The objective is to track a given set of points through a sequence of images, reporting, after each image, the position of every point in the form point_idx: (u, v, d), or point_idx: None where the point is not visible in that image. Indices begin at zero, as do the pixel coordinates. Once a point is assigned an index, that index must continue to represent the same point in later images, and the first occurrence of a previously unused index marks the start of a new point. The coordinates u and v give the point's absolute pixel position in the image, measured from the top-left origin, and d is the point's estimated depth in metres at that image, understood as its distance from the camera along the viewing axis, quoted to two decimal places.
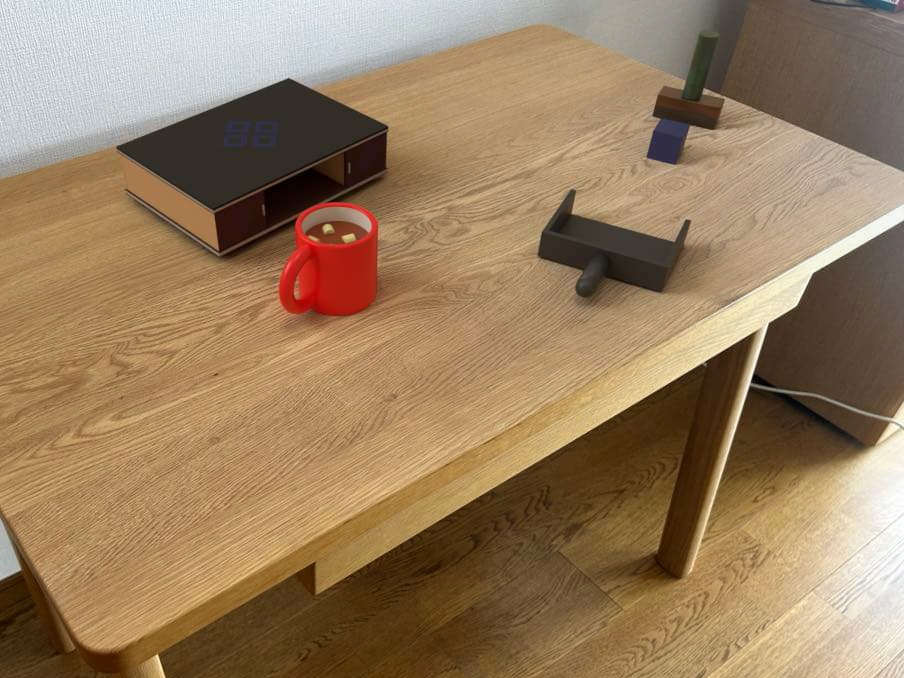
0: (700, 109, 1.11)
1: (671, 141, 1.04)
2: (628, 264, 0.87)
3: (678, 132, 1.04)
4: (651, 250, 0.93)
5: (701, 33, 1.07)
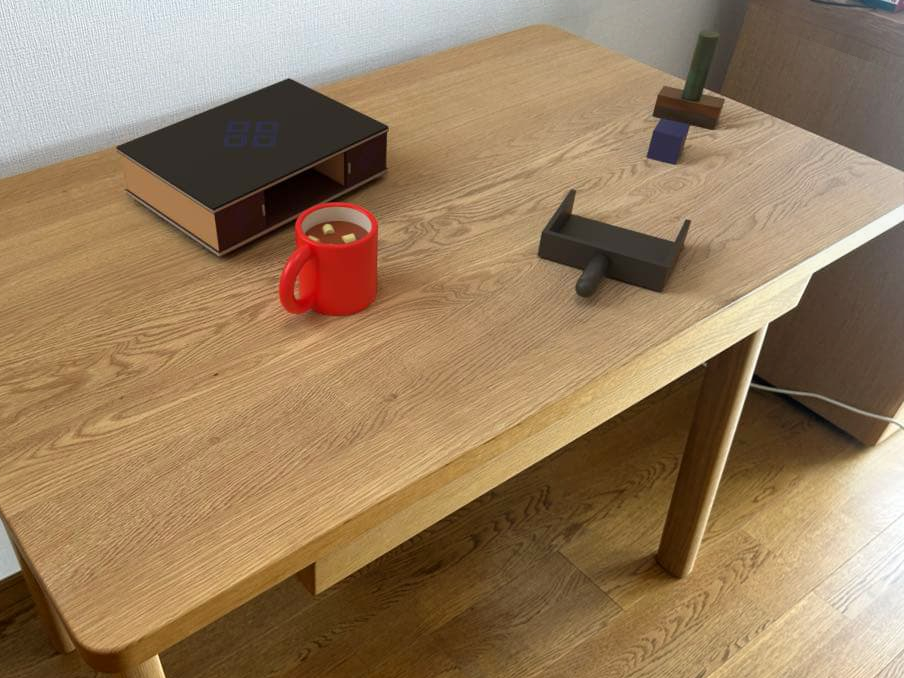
0: (700, 109, 1.11)
1: (671, 141, 1.04)
2: (628, 264, 0.87)
3: (678, 132, 1.04)
4: (651, 250, 0.93)
5: (701, 33, 1.07)
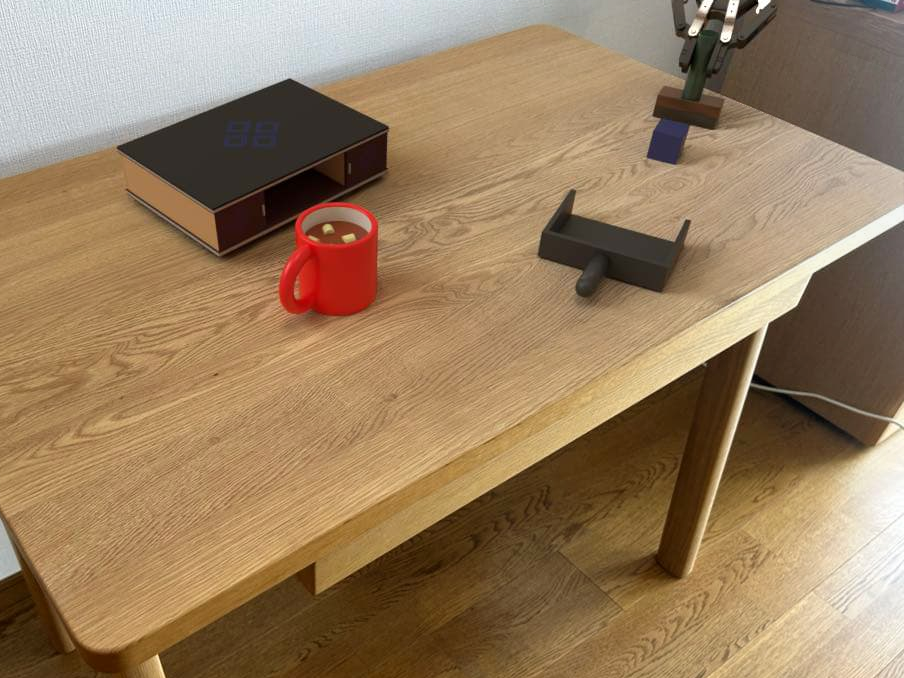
0: (700, 109, 1.11)
1: (671, 141, 1.04)
2: (628, 264, 0.87)
3: (678, 132, 1.04)
4: (651, 250, 0.93)
5: (701, 33, 1.07)
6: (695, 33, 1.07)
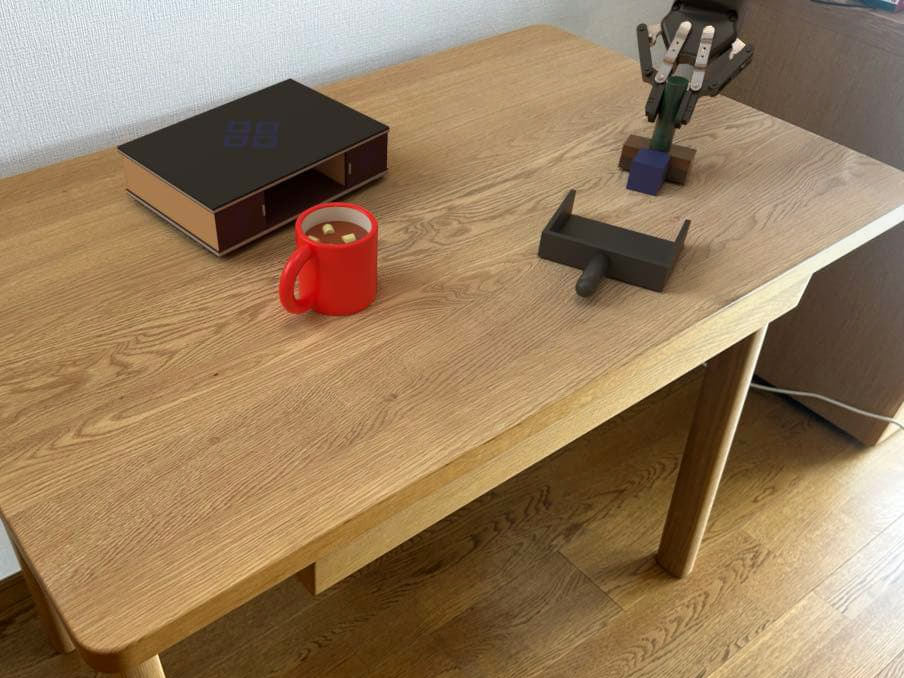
0: None
1: (651, 172, 0.99)
2: (628, 264, 0.87)
3: (659, 163, 0.99)
4: (651, 250, 0.93)
5: (669, 80, 0.96)
6: (663, 80, 0.97)
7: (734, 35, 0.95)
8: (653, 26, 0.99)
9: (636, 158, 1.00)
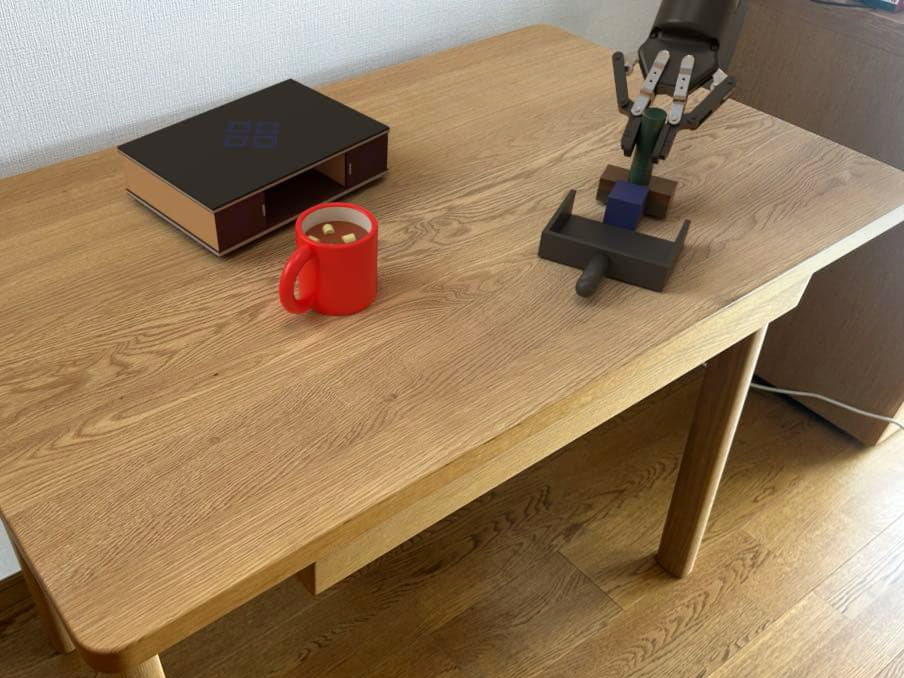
0: (648, 196, 0.96)
1: (628, 208, 0.94)
2: (628, 264, 0.87)
3: (636, 198, 0.94)
4: (651, 250, 0.93)
5: (646, 113, 0.90)
6: (639, 112, 0.91)
7: (715, 65, 0.89)
8: (630, 54, 0.93)
9: (612, 193, 0.94)
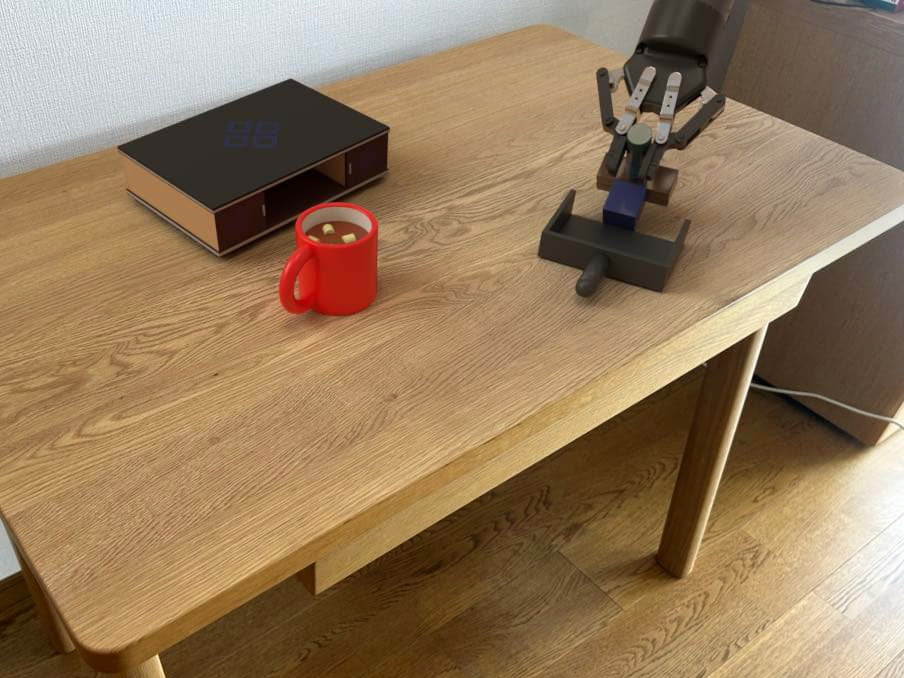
0: (647, 192, 0.94)
1: (624, 218, 0.93)
2: (628, 264, 0.87)
3: (631, 208, 0.92)
4: (651, 250, 0.93)
5: (629, 136, 0.86)
6: (624, 131, 0.87)
7: (703, 83, 0.85)
8: (615, 70, 0.89)
9: (606, 203, 0.93)
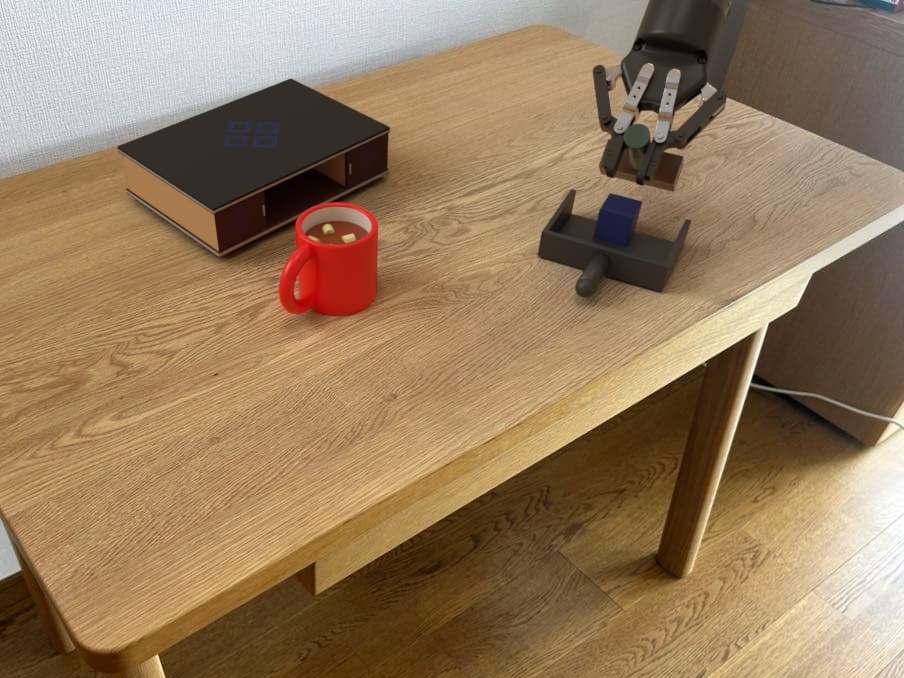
0: (651, 180, 0.91)
1: None
2: (628, 264, 0.87)
3: (620, 237, 0.93)
4: (651, 250, 0.93)
5: (626, 138, 0.84)
6: (622, 130, 0.85)
7: (703, 79, 0.83)
8: (612, 68, 0.86)
9: (596, 232, 0.94)
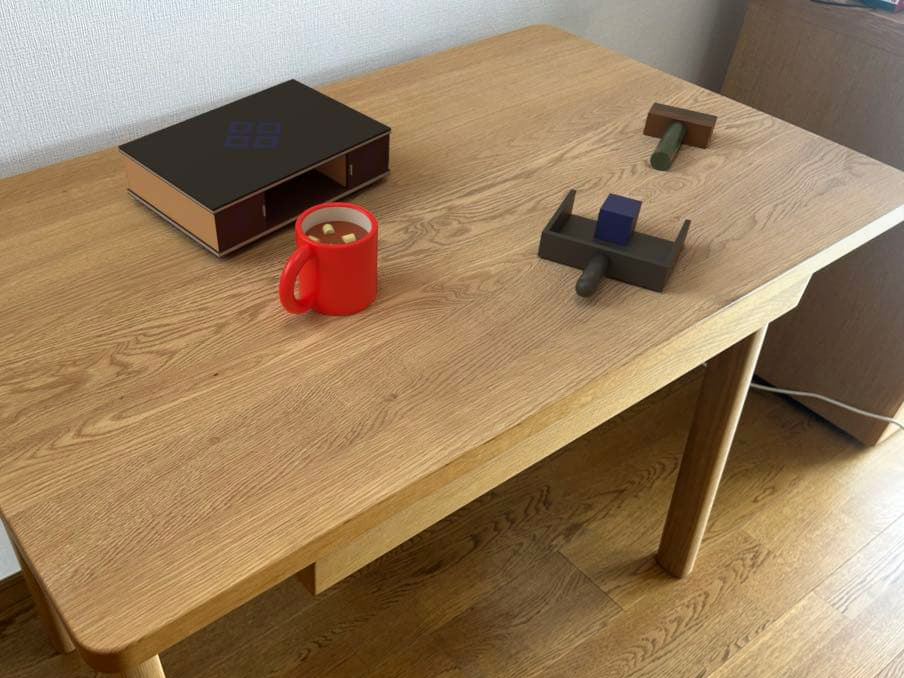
0: None
1: None
2: (628, 264, 0.87)
3: (620, 237, 0.93)
4: (651, 250, 0.93)
5: (652, 162, 1.05)
6: None
7: None
8: None
9: (596, 232, 0.94)
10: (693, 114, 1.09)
